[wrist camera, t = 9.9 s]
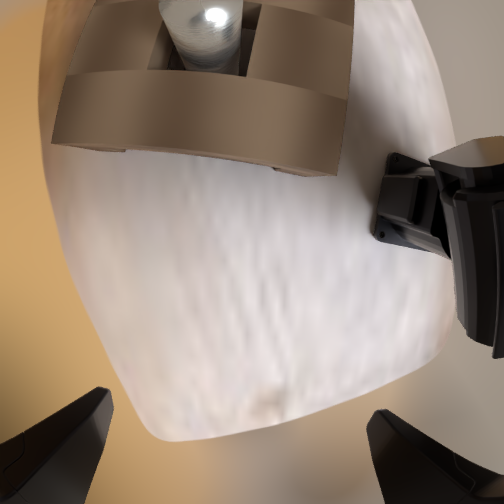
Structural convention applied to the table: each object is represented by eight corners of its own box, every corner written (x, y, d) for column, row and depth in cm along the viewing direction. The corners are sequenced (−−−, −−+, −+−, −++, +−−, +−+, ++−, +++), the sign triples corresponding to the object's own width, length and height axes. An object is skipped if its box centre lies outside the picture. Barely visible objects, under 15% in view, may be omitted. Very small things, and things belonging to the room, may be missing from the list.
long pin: (242, 56, 15) (250, -25, 7) (234, 97, 16) (234, 30, 7) (195, 52, 15) (171, -27, 6) (185, 92, 16) (148, 27, 7)
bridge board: (325, 26, 15) (354, -16, 9) (304, 176, 18) (336, 175, 12) (140, 7, 14) (115, -35, 8) (99, 151, 16) (51, 143, 11)
